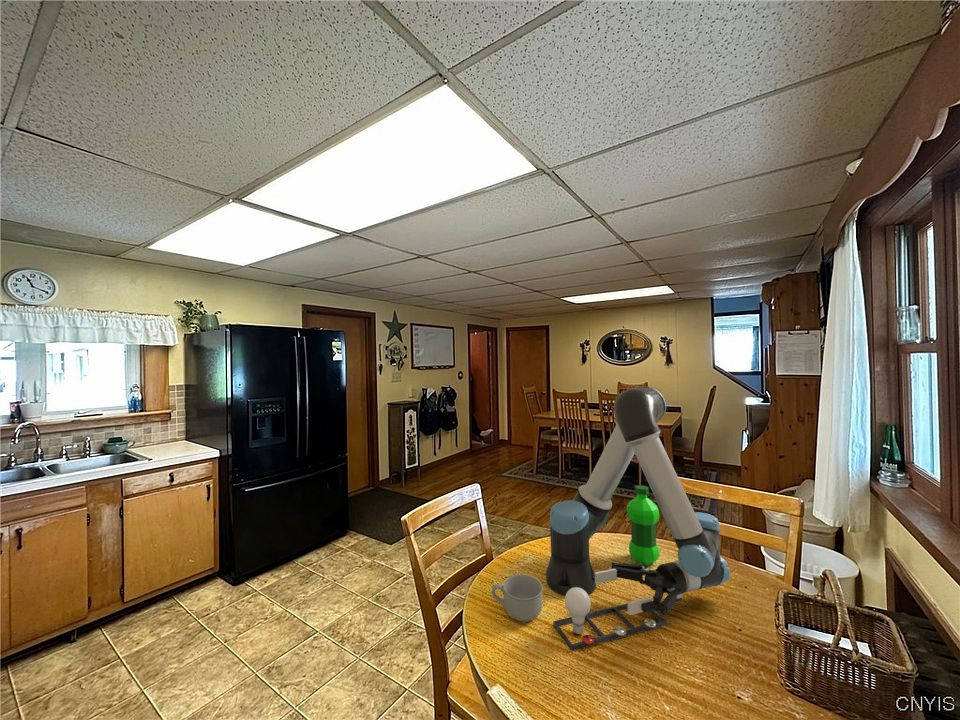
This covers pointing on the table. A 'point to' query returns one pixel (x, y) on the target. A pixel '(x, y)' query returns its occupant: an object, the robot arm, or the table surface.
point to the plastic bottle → (643, 527)
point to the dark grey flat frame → (619, 631)
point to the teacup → (520, 596)
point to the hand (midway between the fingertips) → (610, 592)
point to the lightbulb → (577, 607)
